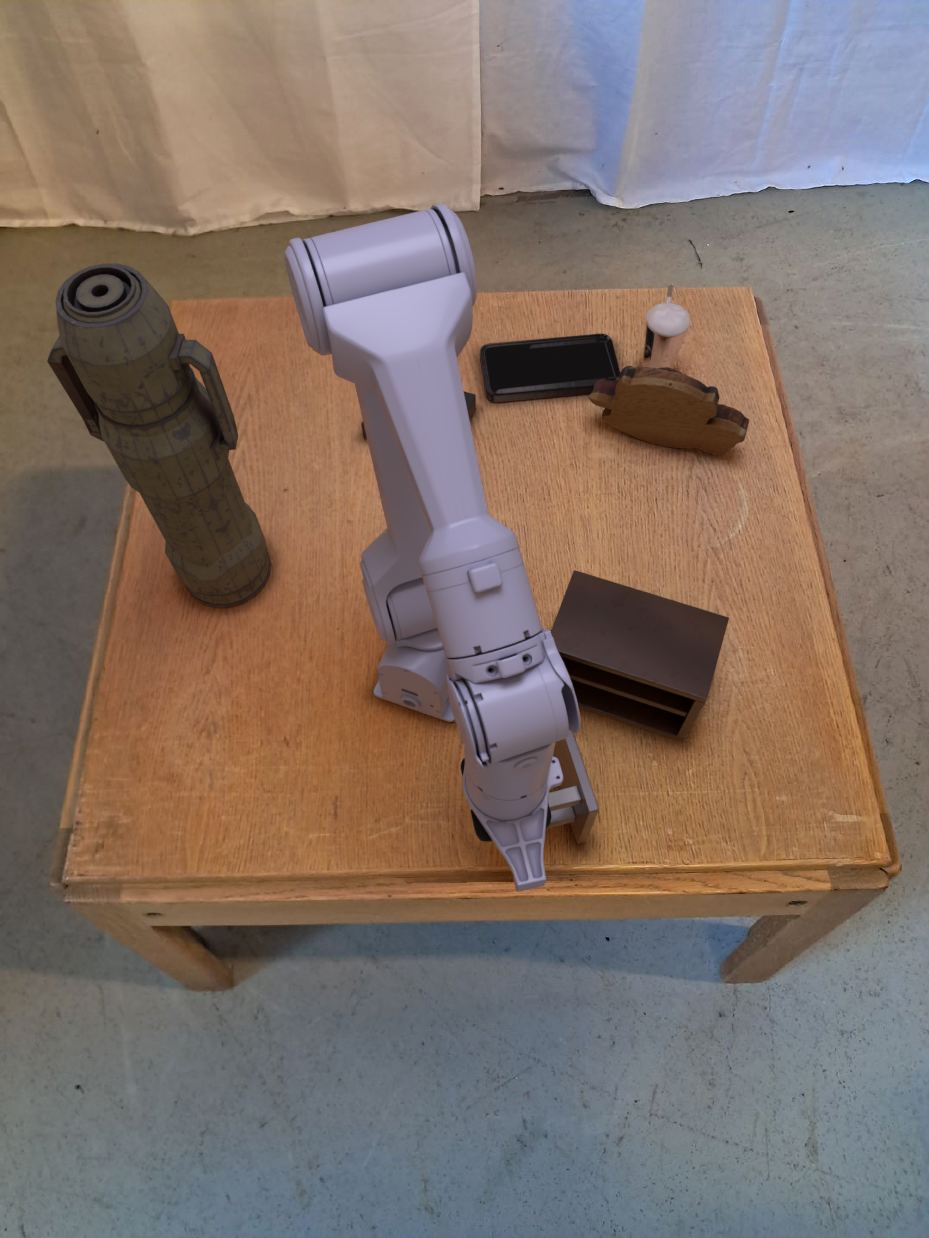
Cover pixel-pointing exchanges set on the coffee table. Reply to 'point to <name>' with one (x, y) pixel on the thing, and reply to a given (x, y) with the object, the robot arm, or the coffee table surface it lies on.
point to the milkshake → (664, 333)
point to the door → (573, 792)
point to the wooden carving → (669, 410)
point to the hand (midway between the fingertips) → (503, 818)
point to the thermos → (161, 426)
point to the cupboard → (637, 654)
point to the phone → (547, 367)
